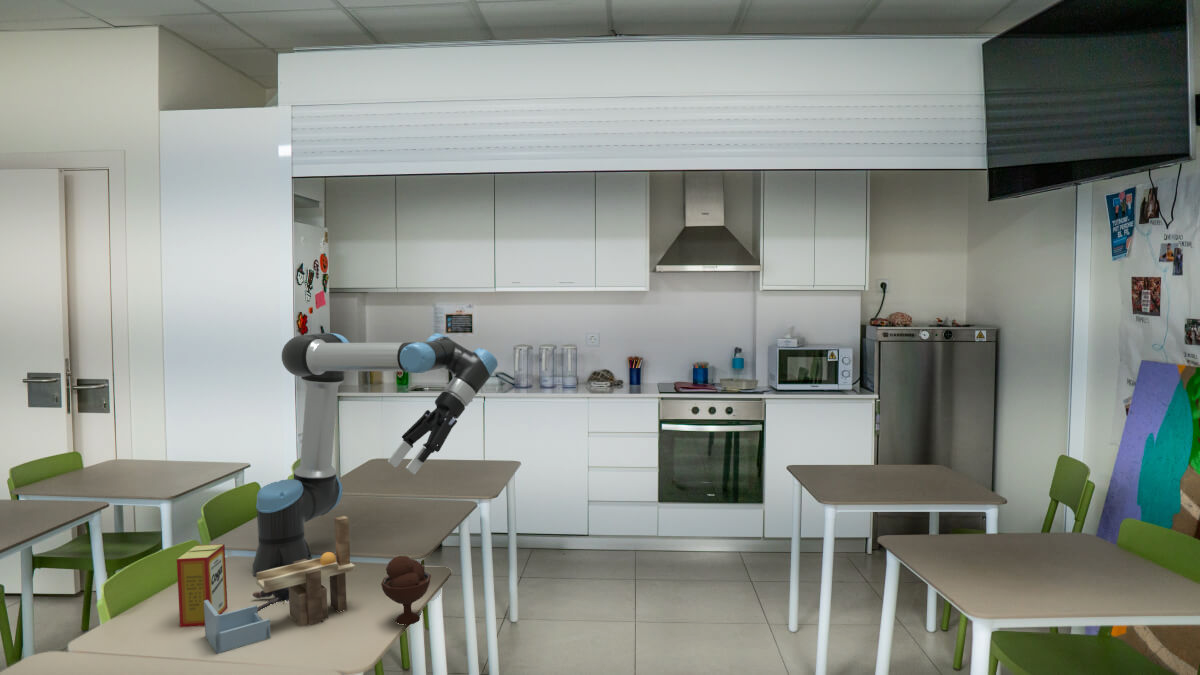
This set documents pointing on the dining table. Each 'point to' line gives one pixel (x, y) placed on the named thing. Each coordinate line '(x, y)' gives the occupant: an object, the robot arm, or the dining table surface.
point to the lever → (310, 564)
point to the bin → (234, 627)
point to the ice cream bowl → (405, 585)
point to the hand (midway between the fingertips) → (400, 467)
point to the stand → (316, 597)
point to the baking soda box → (201, 583)
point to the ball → (328, 558)
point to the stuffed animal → (279, 595)
